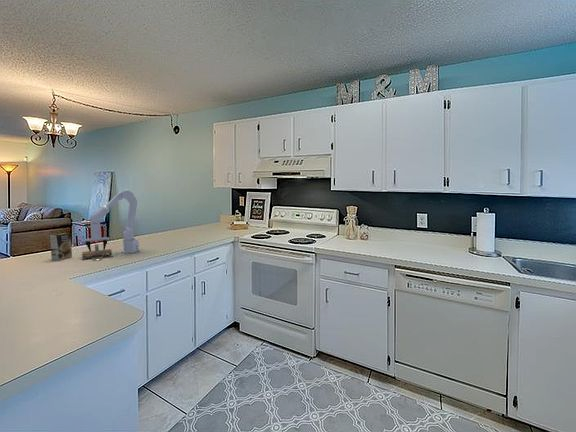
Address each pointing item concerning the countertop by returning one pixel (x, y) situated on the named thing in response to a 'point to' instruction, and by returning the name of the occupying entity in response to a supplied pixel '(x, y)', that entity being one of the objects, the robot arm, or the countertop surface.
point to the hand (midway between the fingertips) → (97, 251)
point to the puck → (97, 259)
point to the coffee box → (61, 246)
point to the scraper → (98, 254)
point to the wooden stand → (96, 253)
